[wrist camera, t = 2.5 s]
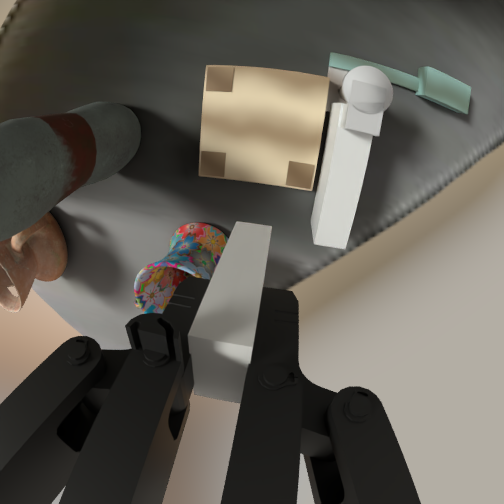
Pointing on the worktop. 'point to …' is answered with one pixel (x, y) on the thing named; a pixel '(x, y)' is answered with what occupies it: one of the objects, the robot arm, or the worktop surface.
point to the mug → (179, 265)
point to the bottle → (60, 158)
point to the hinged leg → (348, 153)
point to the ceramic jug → (31, 260)
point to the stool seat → (289, 117)
